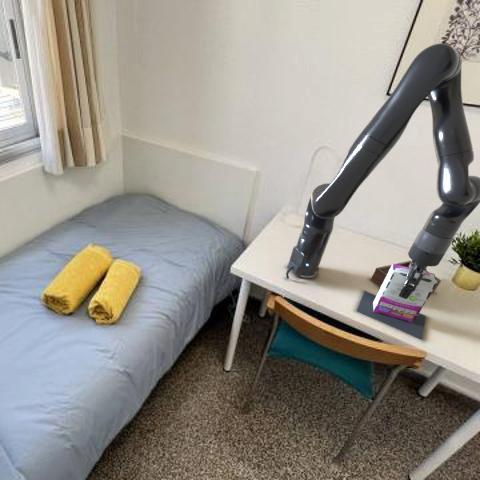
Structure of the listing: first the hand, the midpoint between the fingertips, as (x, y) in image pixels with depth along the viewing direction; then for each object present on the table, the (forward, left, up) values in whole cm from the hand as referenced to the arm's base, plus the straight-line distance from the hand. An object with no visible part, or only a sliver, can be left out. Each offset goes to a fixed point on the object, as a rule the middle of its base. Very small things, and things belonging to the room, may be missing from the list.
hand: (404, 289), depth 105 cm
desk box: (+16, +9, -10) cm, 21 cm away
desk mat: (0, 0, -10) cm, 10 cm away
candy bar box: (0, 0, -10) cm, 10 cm away
